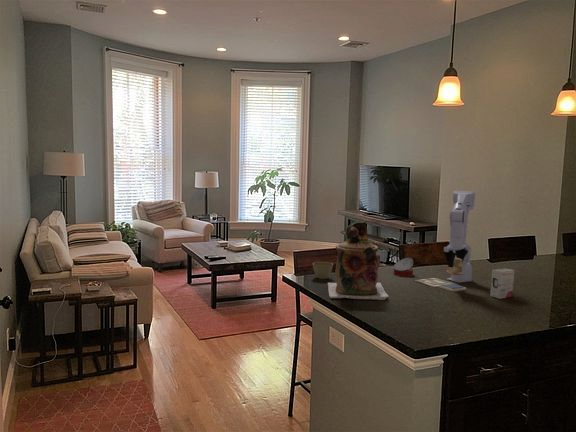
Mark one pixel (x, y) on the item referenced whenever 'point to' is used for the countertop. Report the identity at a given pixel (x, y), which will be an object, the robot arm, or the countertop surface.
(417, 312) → the countertop surface
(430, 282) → the marked board
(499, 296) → the ink box
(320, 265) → the flower pot
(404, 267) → the canned food
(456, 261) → the stamp
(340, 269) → the cookie jar
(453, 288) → the ink pad
